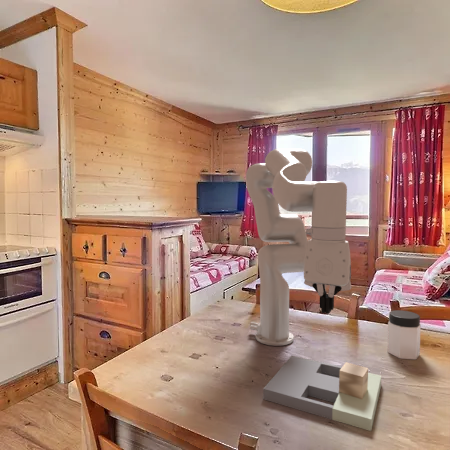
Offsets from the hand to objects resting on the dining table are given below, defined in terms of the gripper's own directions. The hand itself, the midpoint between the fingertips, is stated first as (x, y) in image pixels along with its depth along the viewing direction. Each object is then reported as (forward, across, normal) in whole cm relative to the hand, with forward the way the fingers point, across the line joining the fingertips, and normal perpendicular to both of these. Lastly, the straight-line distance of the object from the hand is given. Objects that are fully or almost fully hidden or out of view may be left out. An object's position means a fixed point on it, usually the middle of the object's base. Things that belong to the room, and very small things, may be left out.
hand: (326, 311), depth 81 cm
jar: (+20, +16, +32) cm, 41 cm away
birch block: (+17, +7, -1) cm, 18 cm away
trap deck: (+19, 0, -1) cm, 19 cm away
